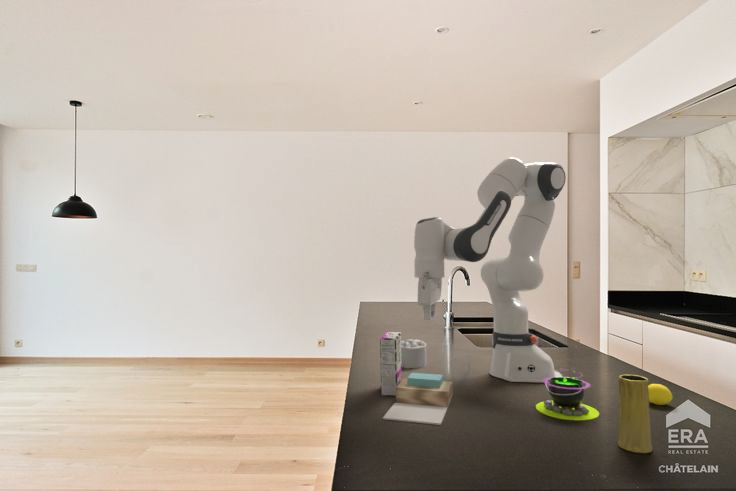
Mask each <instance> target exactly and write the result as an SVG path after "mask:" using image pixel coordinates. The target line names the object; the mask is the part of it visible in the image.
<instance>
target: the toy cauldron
mask: <svg viewBox="0 0 736 491" xmlns="http://www.w3.org/2000/svg"><path fill="white" fill-rule="evenodd" d="M564 366H565V367H566V365H563V367H564ZM573 369H576V368H575V367H573ZM554 370H555V369H554ZM554 370H553V371H554ZM561 370H564V368H561ZM565 371H568V369H565ZM572 372H573V373H578V374H579V372H576V371H575V370H573V371H572ZM580 374H581V376H579V378H582V377H583V373H580ZM579 378H578V376H576V377H574V376H573V377H569V376H563V374H561V377H560V376H559V377H553V378H552V377H551V378H550V377H549V378H548V379H544V380H543V382H542V383H543V384H545V388H546V390H547V391H548V392H547V393H548V395H549V397H550V400H549V399H547V400H544V401H540V402H538V403H537V404H536V405H535V409H536V410H537V411H538V412H539V413H541V414H543V415H546V416H549V417H552V418H555V419H561V420H566V421H591V420H595V419H597V418H599V416H600V412H599V411H598V410H597V409H596V408H594V407H592V406H589V405H587V404H584V403H583V402H584V399H585V396H586V391H585V390H586V389H588V388H591V383H588V382H586V381H585V380H582V379H579ZM545 381H546V382H545ZM548 381H550V383H548ZM584 384H585V386H584Z"/></svg>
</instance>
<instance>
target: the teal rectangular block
mask: <svg viewBox="0 0 736 491" xmlns="http://www.w3.org/2000/svg"><path fill="white" fill-rule="evenodd" d="M443 381H444V374H434V373H421V372H411V373H410V374H409V375H408V376H407V385H410V386H423V387H436V388H440V387H441V385H442V383H443Z"/></svg>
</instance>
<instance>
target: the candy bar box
mask: <svg viewBox="0 0 736 491" xmlns="http://www.w3.org/2000/svg"><path fill="white" fill-rule="evenodd" d="M401 340H402V332H401V331H400V332H399V331H386V332H385V333H384V334H383V335H382V336H381V337H380V338H379V345H380V346H379V347H380V351H379V352H380V394H381V396H383V397H384V396H385V397H386V396H387V397H396V387H397V386H398V385H399V384H400V382H401V381H402V380H403V374H402V373H403V372H402V369H403V367H402V360H401Z"/></svg>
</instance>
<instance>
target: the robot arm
mask: <svg viewBox="0 0 736 491" xmlns="http://www.w3.org/2000/svg"><path fill="white" fill-rule="evenodd" d="M565 183H566V172H565V170H564V168H563V166H562V165H561V164H559V163H557V162H550V161H547V162H531V163H524V161H522V160H521V159H519V158H516V157H507V158H506V159H504V160H502V161H500V163H498V164H497V165H496V166H495V167H494V168H493V169H492V170H491V171H490V172H489V173H488V174H487V176H486V177H485V178H484V179H483V181H481V183H480V185H479V186H478V189H477V191H476V192H477V193H476V194H477V199H478V201H479V202H480V204H481V206H483V208H484V209H483V211H482V213H481V214H480V216H479V217H478V219H477V220H476V221H475V223H473V224H472V225H470V226H467V227H461V228H455V227H453V226H450V225H449V224H447V223H446V222H445V221H444V220H443V219H442V218H441V217H439V216H433V217H428V218H423V219H419V220H418V221H417V223H416V224H415V228H414V237H413V238H414V240H413V241H414V243H413V244H414V245H413V246H414V251H415V257H414V261H413V263H414V266H413V267H414V278H415V279H417V278H418V282H417V304H418V306H421V307H422V309H423V310H422V311H423V314H424V317H423V318H424V320H425V321H430V320H432V318H434V317H435V316H436V307H437V305H436V304H437V302H439V301H440V300H441V297H442V296H441V295H442V285H443V282H442V280H443V278H445V260H447V261H457V262H458V261H459V262H460V261H464V262H467V263H468V262H469V263H476V262H477V263H478V262H479V261H482V260H483V259H484V258H485V257H486V256H487V254H488V253H489V250H490V247H491V243H492V240H493V238H494V236H495V234H496V232H497V230H498V229H499V227H500V226H501V224H502V223H503V221H504V219H505V218H506V216H507V215H508V212H509V211H510V208H511V206H512V201H513V200H514V198H515V197H518V196H519V197H520V196H521V197H524V201H523V205H522V206H521V208H520V210H519V212H518V213H517V216H516V219H515V221H514V223H513V226H512V227H511V229H510V231H509V234H508V238H507V239H508V243H510V250H509V254H508V256H507V257H495V258H491V259H490V260H487V261H486V262H484V263H483V264H482V265H481V269H480V277H481V280H482V281H483V283H484V284H485V286H486V288H487V290H488V293H489V296H490V297H489V298H490V300H491V304H492V312H493V313H492V314H493V316H492V317H493V331H492V335H491V339H492V340H491V343H492V344H491V345H492V348H493V349H492V350H493V351H492V358H491V365H490V369H489V375H491V376H492V377H494V378H498V379H502V380H505V381H508V382H511V383H512V382H513V383H514V382H515V383H544V382H543V380H544V379H548V378H549V377H550V378H551V377H552V378H553V377H559V376H560V377H562V376H561V375H562V374H561V373H560V372H559V371H558V370H555V364H554V362H553V359H552V358H551V356H550V355H549V354H547V353H546V352H545V351H544V350H543V349H541V348H540V347H539V346H537V345H536V343H537V341H538V338H537V336H535V335H534V334H533V333H531V332H529V310H528V307H527V306H526V304H525V303H524V302H523V300H522V297H521V294H520V292H521V293H522V292H529V291H532V290H536V289H537V288H539V287H540V286H541V285H542V283H543V279H544V269H543V267H542V266H541V263H540V254H541V249H542V246H543V243H544V240H545V238H546V236H547V233H548V231H549V228H550V226H551V223H552V221H553V218H554V217H553V216H554V213H555V209H556V203H555V201H554V200H555V199H557V198H558V196H559V195H560V193H561V191H562V190H563V189H564V186H565ZM553 370H554V371H553ZM545 383H546V381H545ZM548 383H550V381H548ZM548 383H547V384H548Z"/></svg>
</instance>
